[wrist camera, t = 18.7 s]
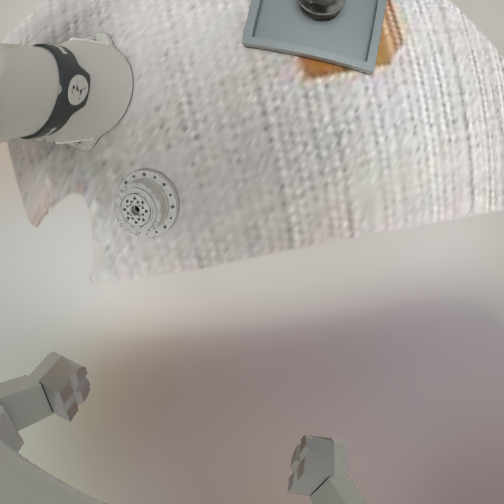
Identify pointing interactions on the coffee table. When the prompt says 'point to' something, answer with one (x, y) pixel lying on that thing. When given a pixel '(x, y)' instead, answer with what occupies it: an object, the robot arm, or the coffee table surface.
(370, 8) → the tray
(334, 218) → the coffee table surface
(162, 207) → the mechanical component
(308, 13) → the dark stone stupa
